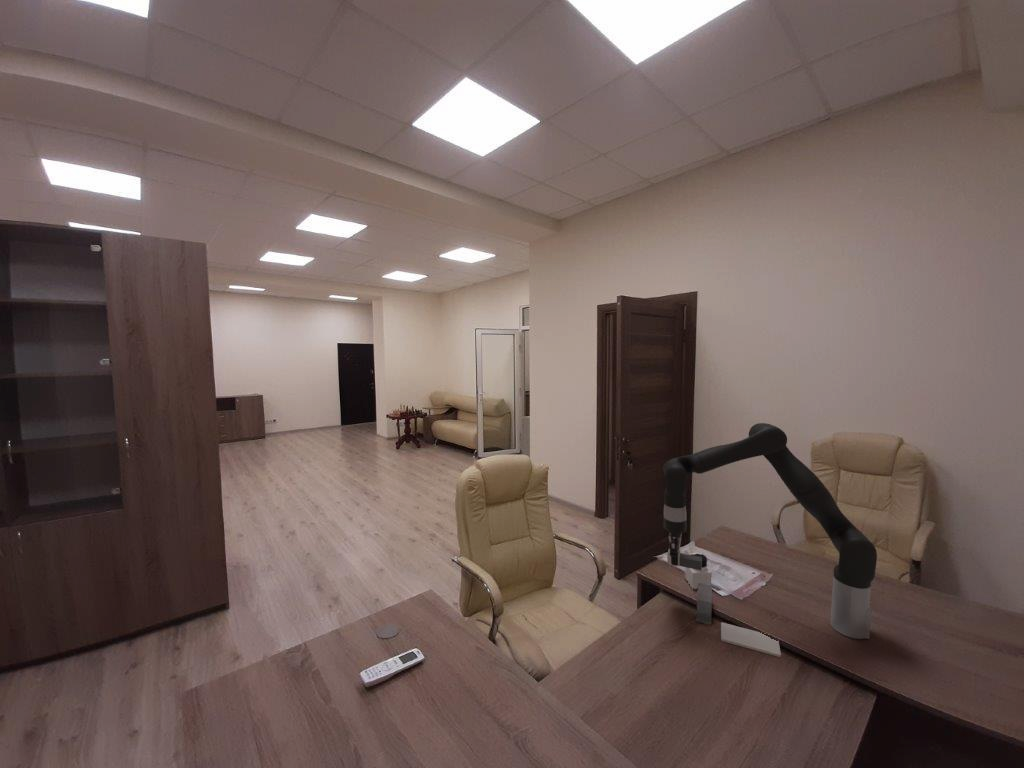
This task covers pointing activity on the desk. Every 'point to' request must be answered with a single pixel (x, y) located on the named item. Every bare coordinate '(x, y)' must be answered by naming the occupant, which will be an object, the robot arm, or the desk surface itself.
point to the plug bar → (687, 560)
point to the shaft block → (704, 603)
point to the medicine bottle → (698, 573)
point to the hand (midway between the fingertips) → (675, 561)
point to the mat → (749, 639)
